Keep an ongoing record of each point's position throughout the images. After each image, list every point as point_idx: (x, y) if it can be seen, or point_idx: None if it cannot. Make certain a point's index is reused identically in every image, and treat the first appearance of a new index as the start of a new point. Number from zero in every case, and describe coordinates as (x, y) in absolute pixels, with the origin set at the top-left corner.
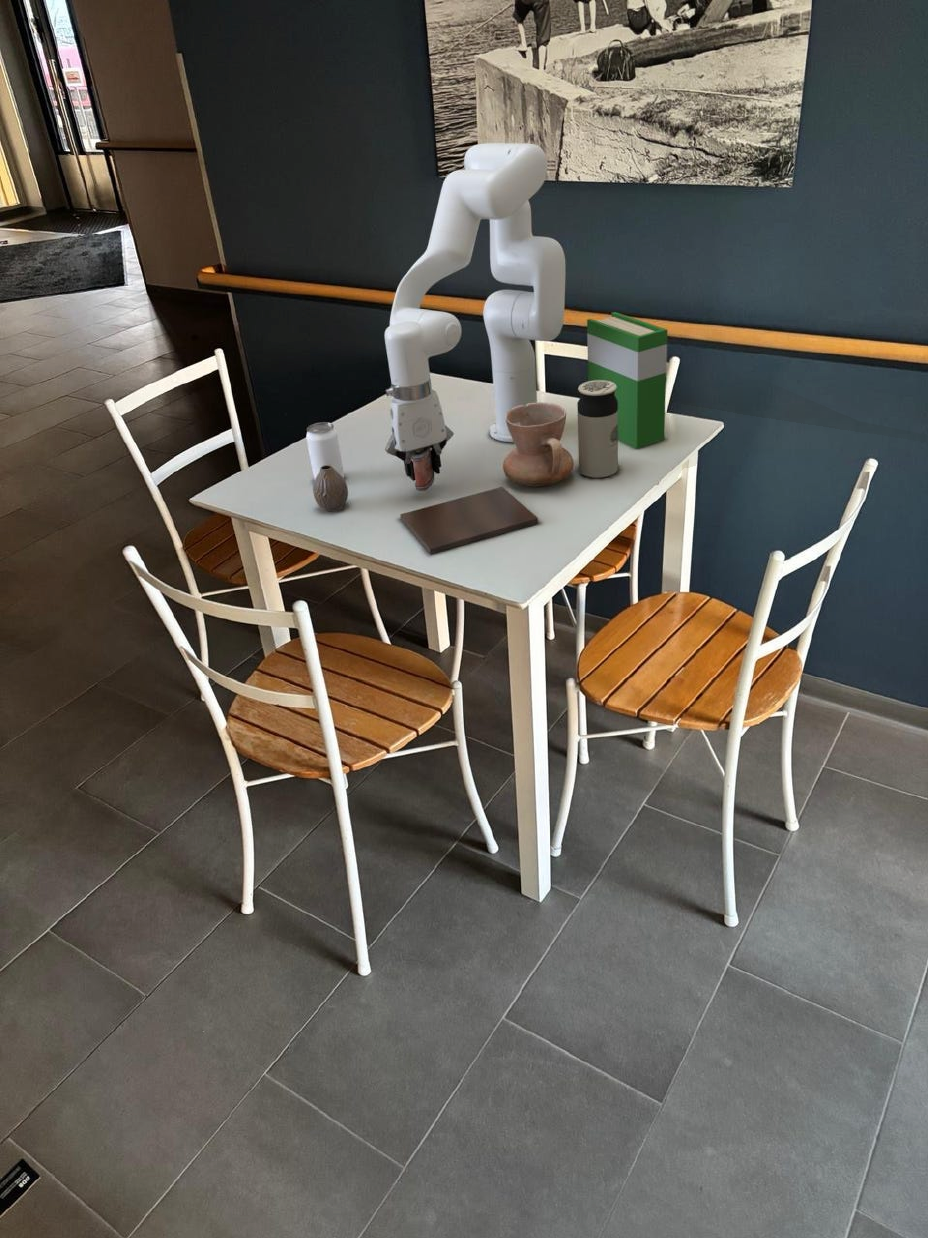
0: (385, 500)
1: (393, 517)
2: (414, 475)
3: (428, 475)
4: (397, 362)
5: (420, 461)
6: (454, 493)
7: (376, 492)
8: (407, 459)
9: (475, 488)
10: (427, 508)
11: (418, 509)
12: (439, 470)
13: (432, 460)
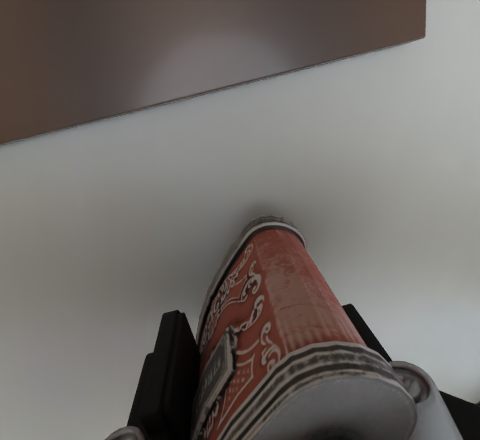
0: (403, 253)
1: (427, 84)
2: None
3: (234, 287)
4: None
5: (315, 337)
6: (127, 229)
7: (410, 318)
8: (416, 395)
9: (33, 246)
10: (274, 53)
11: (322, 60)
12: (162, 322)
13: (191, 398)
